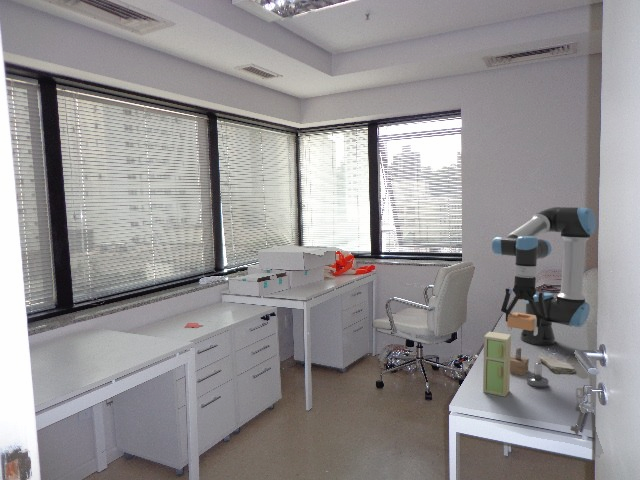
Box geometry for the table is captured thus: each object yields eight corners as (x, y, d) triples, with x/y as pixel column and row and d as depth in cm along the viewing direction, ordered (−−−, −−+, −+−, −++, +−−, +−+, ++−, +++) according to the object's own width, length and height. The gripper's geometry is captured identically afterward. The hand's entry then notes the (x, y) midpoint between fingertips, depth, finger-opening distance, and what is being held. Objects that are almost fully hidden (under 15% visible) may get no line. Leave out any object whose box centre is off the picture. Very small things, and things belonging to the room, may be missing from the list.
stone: (536, 360, 199) (536, 355, 199) (561, 361, 198) (562, 355, 198) (550, 374, 184) (550, 367, 184) (578, 374, 184) (578, 368, 183)
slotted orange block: (514, 321, 188) (514, 312, 188) (537, 325, 182) (538, 315, 182) (507, 326, 181) (507, 316, 181) (531, 330, 176) (532, 320, 175)
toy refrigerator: (481, 392, 167) (483, 336, 164) (486, 385, 173) (488, 331, 170) (504, 398, 162) (507, 340, 160) (509, 390, 168) (511, 334, 166)
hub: (529, 379, 179) (530, 359, 178) (550, 383, 174) (551, 363, 173) (524, 385, 173) (525, 364, 172) (545, 390, 169) (546, 369, 168)
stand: (511, 366, 191) (512, 344, 190) (528, 370, 187) (529, 347, 186) (507, 371, 186) (508, 348, 185) (523, 375, 182) (525, 352, 181)
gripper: (493, 274, 184) (491, 329, 186) (553, 280, 170) (550, 340, 172) (499, 271, 189) (497, 325, 192) (558, 277, 176) (554, 335, 178)
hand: (522, 332), depth 182 cm, fingers closed on slotted orange block, 9 cm apart
